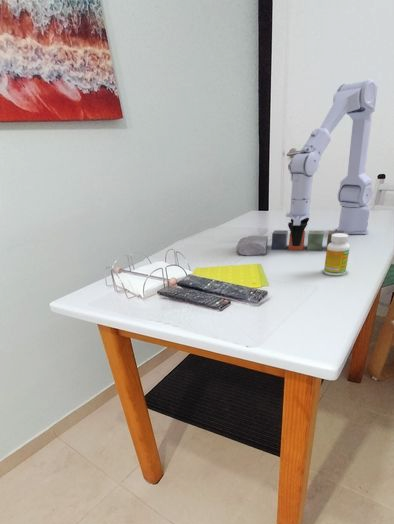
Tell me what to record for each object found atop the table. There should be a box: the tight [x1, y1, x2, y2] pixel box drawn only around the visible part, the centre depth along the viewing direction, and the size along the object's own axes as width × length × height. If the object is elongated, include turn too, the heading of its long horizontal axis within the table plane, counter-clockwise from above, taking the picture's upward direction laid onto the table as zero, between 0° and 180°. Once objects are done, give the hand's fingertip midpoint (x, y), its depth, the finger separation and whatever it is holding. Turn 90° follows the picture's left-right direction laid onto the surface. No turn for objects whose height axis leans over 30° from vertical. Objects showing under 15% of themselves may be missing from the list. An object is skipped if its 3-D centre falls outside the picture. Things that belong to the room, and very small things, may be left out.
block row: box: [271, 229, 344, 251], centre depth 108 cm, size 21×4×5 cm, turn 70°
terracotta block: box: [288, 230, 306, 251], centre depth 109 cm, size 4×4×5 cm
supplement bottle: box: [323, 233, 351, 277], centre depth 87 cm, size 5×5×10 cm
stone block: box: [236, 234, 269, 257], centre depth 111 cm, size 12×5×10 cm
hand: (296, 243), depth 110 cm, fingers closed on terracotta block, 4 cm apart
